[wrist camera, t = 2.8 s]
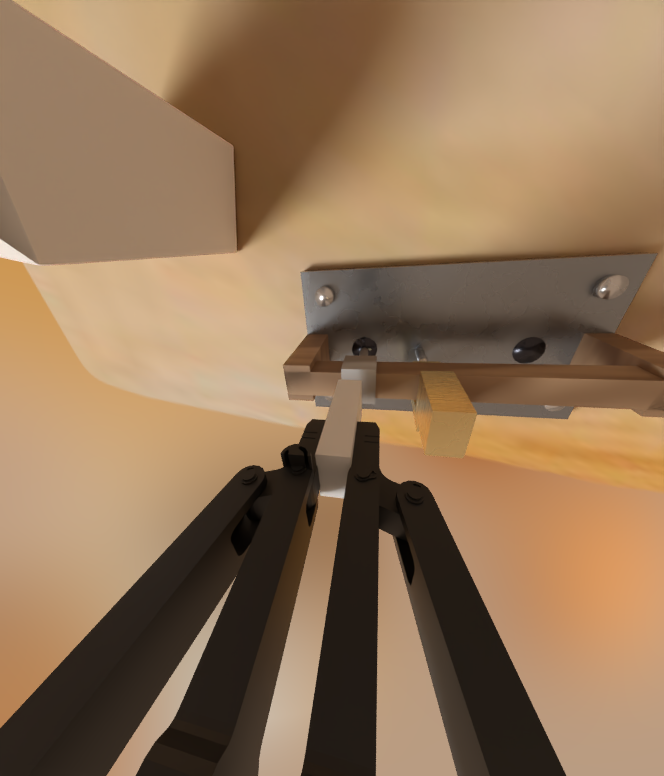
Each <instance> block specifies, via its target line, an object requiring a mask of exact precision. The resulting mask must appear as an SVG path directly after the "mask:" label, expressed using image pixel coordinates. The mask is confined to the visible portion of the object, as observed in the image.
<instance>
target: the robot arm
mask: <svg viewBox="0 0 664 776" xmlns="http://www.w3.org/2000/svg"><path fill="white" fill-rule="evenodd" d="M361 416H362V380H338V383H337V386H336V389H335V393H334V396H333V399H332V402H331V405H330V408H329V412H328V415H327V418H326V420H316V419H312V420H311V421H310V422H309V423H308V424H307V425H306V428H305V430H304V433H303V435H302V438H301V440H300V442H299V444H293V445H291V446H288V447H287V448H285V449H284V450H283V451H282V452H281V457H282V461H283V466H284V467H283V468H281V469H278V470H273V471H267V472H264V470H263V468H261V467H260V466H255V465H253V466H248V467H245V468H243V469H242V470H240V471H239V472H238V473H237V474H236V475H235V476H234V477H233V478H232V479H231V481H230V482H229V483H228V484H227V485H226V486H225V487H224V488H223V489H222V490H221V491H220V492H219V493H218V494H217V496H216V497H215V498H214V499H213V500H212V501H211V502H210V503H209V504H208V505H207V506H206V508H204V510H203V511H202V512H201V513H200V514H199V515H198V516H197V517H196V518H195V519H194V520H193V521H192V522H191V524H190V525H189V526H188V527H187V528H186V529H185V530H184V531H183V532H182V533H181V534H180V535H179V536H178V538H177V539H176V540H175V541H174V542H173V543H172V544H171V545H170V546H169V547H168V548H167V549H166V550H165V552H164V553H163V554H162V555H161V556H160V557H159V558H158V559H157V560H156V561H155V562H154V563H153V564H152V566H151V567H150V568H149V569H148V570H147V571H146V572H145V573H144V574H143V575H142V577H140V578H139V580H138V581H137V582H136V583H135V584H134V585H133V586H132V587H131V588H130V589H129V590H128V591H127V593H126V594H125V595H124V596H123V597H122V598H121V599H120V600H119V601H118V602H117V603H116V604H115V605H114V606H113V608H112V609H111V610H110V611H109V612H108V613H107V614H106V615H105V616H104V617H103V618H102V619H101V620H100V622H99V623H98V624H97V625H96V626H95V627H94V628H93V629H92V630H91V631H90V632H89V634H88V635H87V636H86V637H85V638H84V639H83V640H82V641H81V642H80V643H79V644H78V645H77V646H76V647H75V648H74V650H73V651H72V652H71V653H70V654H69V655H68V656H67V657H66V658H65V659H64V660H63V662H61V664H60V665H59V666H58V667H57V668H56V669H55V670H54V671H53V672H52V673H51V674H50V675H49V676H48V678H47V679H46V680H45V681H44V682H43V683H42V684H41V685H40V686H39V687H38V688H37V689H36V691H35V692H34V693H33V694H32V695H31V696H30V697H29V698H28V699H27V700H26V701H25V702H24V703H23V704H22V706H21V707H20V708H19V709H18V710H17V711H16V712H15V713H14V714H13V715H12V716H11V718H10V719H9V720H8V721H7V722H6V723H5V724H4V725H3V726H2V727H1V728H0V776H106V775H107V774H108V772H109V771H110V769H111V768H112V766H113V765H114V763H115V762H116V760H117V758H118V757H119V755H120V754H121V752H122V751H123V749H124V748H125V746H126V744H127V743H128V742H129V740H130V738H131V737H132V735H133V734H134V732H135V731H136V729H137V728H138V726H139V725H140V723H141V722H142V720H143V718H144V717H145V715H146V714H147V712H148V711H149V709H150V708H151V706H152V705H153V703H154V701H155V700H156V698H157V697H158V695H159V694H160V692H161V691H162V689H163V688H164V686H165V685H166V683H167V682H168V680H169V678H170V677H171V675H172V674H173V672H174V671H175V669H176V668H177V666H178V665H179V663H180V662H181V660H182V658H183V657H184V655H185V654H186V652H187V651H188V649H189V648H190V646H191V644H192V643H193V642H194V640H195V638H196V637H197V635H198V634H199V632H200V631H201V629H202V628H203V626H204V625H205V623H206V622H207V619H208V618H209V617H210V615H211V614H212V612H213V611H214V609H215V608H216V606H217V605H218V603H219V601H220V600H221V598H222V597H223V595H224V594H225V592H226V591H227V589H228V588H229V586H230V584H231V583H232V581H233V580H234V578H235V577H236V579H235V581H234V583H233V585H232V588H231V590H230V592H229V595H228V597H227V599H226V602H225V604H224V606H223V609H222V611H221V613H220V615H219V618H218V620H217V622H216V625H215V627H214V629H213V632H212V634H211V636H210V638H209V641H208V643H207V646H206V648H205V650H204V652H203V655H202V657H201V659H200V662H199V664H198V666H197V669H196V671H195V673H194V675H193V678H192V680H191V682H190V685H189V687H188V689H187V692H186V694H185V696H184V699H183V701H182V703H181V705H180V708H179V710H178V712H177V714H176V716H175V718H174V720H173V721H172V723H171V724H170V726H169V727H168V728H167V730H166V731H165V732H164V733H163V734H162V735H161V736H160V737H159V738H158V739H157V741H156V742H155V743H154V745H153V746H152V748H151V749H150V751H149V752H148V754H147V756H146V757H145V759H144V761H143V763H142V765H141V766H140V768H139V771H138V772H137V774H136V776H258V768H259V756H260V749H261V745H262V739H263V736H264V731H265V727H266V723H267V719H268V715H269V711H270V706H271V702H272V698H273V694H274V689H275V685H276V681H277V677H278V672H279V669H280V664H281V660H282V656H283V651H284V648H285V643H286V639H287V635H288V631H289V627H290V622H291V618H292V614H293V610H294V606H295V601H296V597H297V593H298V589H299V584H300V580H301V576H302V572H303V568H304V564H305V559H306V555H307V551H308V547H309V542H310V538H311V534H312V530H313V525H314V521H315V517H316V513H317V509H318V494H319V490H320V495H321V496H329V497H337V498H344V501H343V508H342V514H341V521H340V527H339V534H338V541H337V548H336V554H335V561H334V567H333V575H332V581H331V587H330V594H329V601H328V607H327V614H326V621H325V627H324V634H323V640H322V647H321V654H320V660H319V667H318V673H317V680H316V687H315V693H314V700H313V707H312V713H311V720H310V727H309V733H308V740H307V746H306V753H305V759H304V764H303V769H302V773H301V776H376V709H377V705H376V704H377V630H378V629H377V628H378V551H379V550H378V549H379V529H381V530H383V531H385V532H387V533H389V534H391V535H393V539H394V542H395V546H396V550H397V553H398V557H399V561H400V565H401V568H402V572H403V575H404V579H405V583H406V586H407V590H408V594H409V598H410V601H411V605H412V609H413V612H414V616H415V620H416V624H417V627H418V631H419V635H420V638H421V642H422V646H423V649H424V653H425V657H426V661H427V664H428V668H429V672H430V675H431V679H432V683H433V686H434V690H435V694H436V697H437V701H438V705H439V708H440V712H441V716H442V720H443V723H444V727H445V730H446V734H447V738H448V742H449V745H450V749H451V752H452V756H453V760H454V764H455V768H456V771H457V775H458V776H566V774H565V772H564V770H563V768H562V766H561V764H560V762H559V759H558V757H557V755H556V753H555V751H554V749H553V747H552V745H551V743H550V741H549V739H548V736H547V734H546V732H545V731H544V728H543V726H542V724H541V722H540V720H539V718H538V715H537V713H536V711H535V709H534V707H533V705H532V703H531V701H530V699H529V697H528V694H527V692H526V690H525V688H524V686H523V684H522V682H521V680H520V678H519V676H518V673H517V671H516V669H515V667H514V665H513V663H512V661H511V659H510V657H509V655H508V652H507V650H506V648H505V646H504V644H503V642H502V640H501V638H500V636H499V634H498V631H497V630H496V627H495V625H494V623H493V621H492V619H491V617H490V615H489V613H488V610H487V608H486V606H485V604H484V602H483V600H482V598H481V596H480V594H479V592H478V590H477V587H476V585H475V583H474V581H473V579H472V577H471V575H470V573H469V571H468V569H467V566H466V564H465V562H464V560H463V558H462V556H461V554H460V552H459V550H458V548H457V545H456V543H455V541H454V539H453V537H452V535H451V533H450V531H449V529H448V527H447V524H446V522H445V520H444V518H443V516H442V514H441V512H440V510H439V508H438V506H437V503H436V501H435V499H434V497H433V495H432V493H431V492H430V490H429V489H428V488H427V487H426V486H424V485H423V484H421V483H419V482H416V481H406V482H403V483H401V484H398V483H395V482H393V481H391V480H389V479H387V478H386V477H385V476H384V475H383V474H382V473H381V471H380V468H379V434H380V429H379V427H378V426H377V424H376V423H373V422H361ZM236 575H237V576H236Z"/></svg>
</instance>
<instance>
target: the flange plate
mask: <svg viewBox="0 0 664 776" xmlns="http://www.w3.org/2000/svg"><path fill="white" fill-rule="evenodd" d="M657 254H658V253H632V254H613V255H594V256H575V257H557V258H538V259H519V260H500V261H482V262H463V263H444V264H425V265H406V266H388V267H369V268H350V269H331V270H313V271H302V272H301V280H302V289H303V297H304V306H305V315H306V324H307V332H308V334H328V343H329V357H330V361H344V358H345V355H358V356H359V353H360V349H361V348H363V347H365V348H367V349H368V356H377V362H413V361H417V358H416V355H415V350H416V349H417V348H423V349H424V351H425V354H426V356H427V359H428V361H440V362H441V363H489V364H551V365H570V363H571V360H572V358H573V356H574V354H575V352H576V350H577V348H578V346H579V344H580V342H581V340H582V338H583V335H584V333H615V331H616V329H617V327H618V326H619V324H620V322H621V320H622V318H623V316H624V315H625V313H626V311H627V309H628V307H629V305H630V304H631V302H632V300H633V298H634V296H635V294H636V293H637V291H638V289H639V287H640V285H641V283H642V282H643V280H644V278H645V276H646V274H647V272H648V270H649V269H650V267H651V265H652V263H653V261H654V259H655V258H656V256H657ZM332 399H333V396H315V402H316V406H321V407H330V405H331V402H332ZM471 403H472V405H473V407H474V408H475V410H476V412H477V415H497V416H516V417H535V418H555V419H568V417H569V415H570V414H571V412H572V410H573V408H574V407H570V406H547V405H524V404H501V403H477V402H471ZM362 409H380V410H399V411H413V408H412V403H411V400H408V399H385V398H375V404H362Z"/></svg>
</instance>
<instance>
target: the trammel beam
mask: <svg viewBox="0 0 664 776" xmlns="http://www.w3.org/2000/svg"><path fill="white" fill-rule="evenodd" d="M283 368H284V374H285V379H286V385H287V391H288V396H289V400H306V401H314V399H315V396H334V393H335V389H336V386H337V383H338V380H362V404H375V398H385V399H408V400H416V399H417V392H418V385H419V378H420V371H453V372H454V373H455V375H456V376H457V378H458V380H459V382H460V383H461V385H462V387H463V389H464V391H465V392H466V394H467V396H468V398H469V399H470V401H471V402H477V403H501V404H524V405H547V406H570V407H593V408H616V409H632V410H633V411H635V412H636V413H638V414H639V415H641V416H644V417H664V352H661V351H659V350H656V349H653V348H651V347H648V346H646V345H643V344H641V343H638V342H635V341H633V340H630V339H628V338H625V337H623V336H620V335H617V334H615V333H584V335H583V338H582V340H581V342H580V344H579V346H578V348H577V350H576V352H575V354H574V356H573V358H572V360H571V363H570V365H551V364H489V363H428V362H377V356H368V349H367V348H365V347H363V348H361V349H360V353H359V356H358V355H345V358H344V361H330V357H329V343H328V334H308V335H307V336H306V337H305V338H304V340H303V341H302V342H301V343H300V345H299V346H298V347H297V348H296V350H295V351H294V352H293V353H292V355H291V356H290V357H289V358H288V360H287V361H286V362H285V363H284V365H283Z"/></svg>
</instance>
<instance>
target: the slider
mask: <svg viewBox="0 0 664 776" xmlns="http://www.w3.org/2000/svg"><path fill="white" fill-rule="evenodd" d="M415 355H416V358H417V361H413V362H428V363H441V362H440V361H428V359H427V356H426V354H425V351H424V349H423V348H417V349H416V350H415ZM411 403H412V408H413V414H414V419H415V425H416V430H417V431H418V432H420V435H421V440H422V445H423V450H424V455H429V456H430V455H431V456H443V457H455V458H464V455H465V452H466V449H467V446H468V442H469V439H470V436H471V432H472V429H473V426H474V422H475V419H476V416H477V412H476V410H475V408H474V407H473V405H472V403H471V401H470V399H469V398H468V396H467V394H466V392H465V391H464V389H463V387H462V385H461V383H460V382H459V380H458V378H457V376H456V375H455V373H454V372H453V371H420V378H419V385H418V392H417V399H416V400H411Z"/></svg>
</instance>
